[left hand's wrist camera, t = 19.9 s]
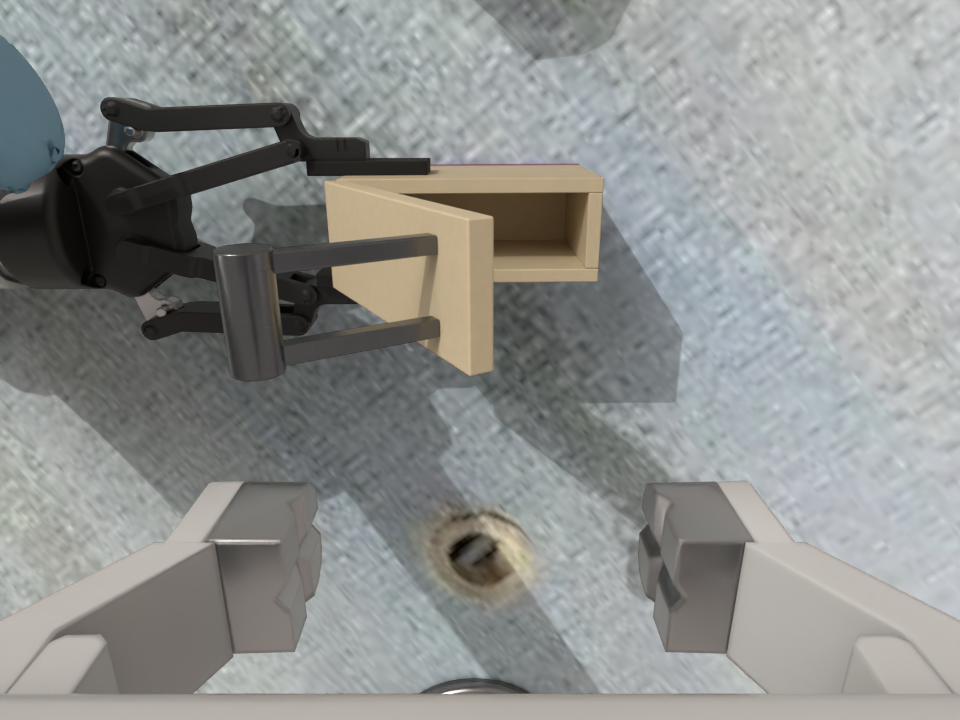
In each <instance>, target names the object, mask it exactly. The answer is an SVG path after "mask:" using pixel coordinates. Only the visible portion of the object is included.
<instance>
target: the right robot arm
mask: <svg viewBox="0 0 960 720" xmlns="http://www.w3.org/2000/svg"><path fill="white" fill-rule="evenodd" d="M100 108H101V112H102V114H103V116H104V117H105V118H106V119H108V120H109V125H108V133H107V141H106V146H102V147H99V148H97V149H96V150H94V151H93V152H91V153H89V154H81V155H63V153H64V147H65V134H64V128H63V124H62V121H61V117H60V115H59V112H58V109H57V107H56V105H55V102H54V100H53V98H52V96H51V95H50V93H49V91H48V89H47V88H46V86H45V85H44V83H43V81H42V80H41V78H40V77H39V76H38V74H37V73H36V72H35V70H34V69H33V68H32V66H31V65H30V64H29V63H28V61H27V60H26V59H25V58H24V57H23V56H22V54H21V53H20V52H19V51H18V50H17V49H16V48H15V47H14V46H13V45H12V44H10V43H9V42H8V41H7V40H6V39H5V38H4V37H2V36H1V35H0V289H23V288H28V287H32V288H36V289H111V290H115V291H117V292H119V293H121V294H123V295H126V296H129V297H134V298H135V300H136V302H137V304H138V306H139V307H140V309H141V311H142V313H143V315H144V317H145V319H146V322H145V323H143V325H142V328H141V330H142V334H143V335H144V336H145V337H146V338H148V339H150V340H157V339H160V338H163V337H166V336H169V335H173V334H176V333H179V332H182V331H183V332H211V333H224V330H223V324H222V317H221V310H220V304H219V302H211V301H196V302H189V303H185V304H183V303H182V300H181V299H180V298H177V297H175V296H164V295H162V294H160V293H159V292H158V291H157V289H156V288H157V287H158V286H159V285H160V284H162V283H163V282H164V281H165V280H166V279H168V278H169V277H170V276H171V275H173V274H177V275H180V276H184V277H189V278H203V279H207V280H210V281H214V282H216V277H215V270H214V263H213V256H212V251H213V250H214V249H216V247H214V246H212V245H208V244H205V243H201V242H198V241H197V234H196V231H195V229H194V227H193V224H192V222H191V214H192V201H191V195H192V194H195V193H198V192H201V191H205V190H208V189H211V188H214V187H218V186H221V185H224V184H227V183H231V182H234V181H237V180H240V179H244V178H247V177H250V176H253V175H257V174H260V173H263V172H266V171H270V170H273V169H276V168H279V167H283V166H286V165H289V164H292V163H296V162H299V161H306V165H307V176H384V175H428V174H429V172H430V171H431V170H430V158H370V150H369V141H367V140H365V139H363V138H360V137H314V136H311V135H310V134H309V133H308V132H307V131H306V130H305V128H304V126H303V124H302V121H301V119H300V112H299V110H298V108H297V107H296V106H295V105H293V104H289V103H256V104H232V105H208V106H185V107H160V106H156V105H153V104H150V103H147V102H144V101H141V100H138V99H134V98H118V97H117V98H116V97H108V98H105V99H104V100H103V101H102V102H101V105H100ZM265 127H274V129H275V131H276V133H277V136H278V138H279V140H280V142H278V143H275V144H272V145H269V146H265V147H262V148H259V149H256V150H252V151H249V152H246V153H243V154H240V155H236V156H233V157H230V158H227V159H223V160H220V161H217V162H214V163H211V164H207V165H204V166H201V167H198V168H194V169H191V170H188V171H185V172H181V173H178V174H174V175H171V176H170V175H169V174H167V173H166V172H164V171H163V170H161V169H160V168H158V167H157V166H155V165H154V164H152V163H151V162H149V161H148V160H146V159H145V158H143V157H142V156H140V155H139V154H137V153H136V152H134V151H133V150H132V149H133V146H134V144H135V143H137V142H147V141H150V140H151V139H153V137H154V134H155V132H169V131H193V130H217V129H241V128H265ZM276 281H277V290H278V299H281V300H285V301H289V302H293V303H295V305H293V304H279V307H280V316H281V324H282V333H283V335H296V336H300V335H304V334H305V333H307V331H308V330H309V329H310V327H311V326H312V325H313V323H314V322H315V321H316V319H317V316H318V314H317V313H318V310H319V306H320V305H323V304H358V303H357V302H355V301H354V300H352V299H350V298H349V297H347V296H346V295H344V294H343V293H341V292H340V291H338V290H337V289H335V288H334V287H333V279H332V267H328V268H322V269H321V270H320V271H319V272H318V273H317V274H316V276H313V275H309V274H306V273H302V272H298V271H295V272H286V273H278V274H276ZM419 694H529V693H527V692H525V691H524V690H522V689H520V688H518V687H515V686H513V685H510V684H507V683H504V682H500V681H495V680H490V679H476V678H472V679H459V680H453V681H448V682H445V683H441V684H438V685H435V686H433V687H431V688H428V689H426V690H424V691H423V692H421V693H419Z"/></svg>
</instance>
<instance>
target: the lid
mask: <svg viewBox="0 0 960 720" xmlns="http://www.w3.org/2000/svg"><path fill="white" fill-rule="evenodd" d="M324 185H325V197H326V208H327V220H328V232H329V243H323V244H313V245H303V246H293V247H283V248H274V249H273V248H272V247H271V246H269V245H266V244H256V243H247V244H234V245H227V246H222V247H218V248H216V249H214V250H213V251H212V256H213V263H214V270H215V277H216V283H217V290H218V297H219V304H220V310H221V317H222V324H223V330H224V337H225V344H226V351H227V357H228V364H229V371H230V375H231V377H232V378H234V379H236V380H240V381H262V380H267V379H271V378H274V377H277V376H279V375H281V374H283V373H284V372H285V370H286V366H287V365H292V364H297V363H303V362H308V361H314V360H319V359H324V358H330V357H335V356H341V355H346V354H351V353H357V352H362V351H368V350H373V349H378V348H384V347H389V346H395V345H400V344H405V343H411V342H418V343H419V344H421V345H423V346H424V347H426V348H427V349H429V350H430V351H432V352H433V353H435V354H436V355H438V356H439V357H441V358H442V359H444V360H446V361H447V362H449V363H450V364H452V365H453V366H455V367H456V368H458V369H459V370H461V371H462V372H464V373H465V374H467V375H469V376H474V375H478V374H483V373H487V372H492V371H493V286H494V219H493V217H492V216H489V215H485V214H481V213H476V212H472V211H468V210H464V209H460V208H456V207H452V206H447V205H443V204H439V203H435V202H431V201H427V200H422V199H418V198H414V197H410V196H406V195H402V194H398V193H393V192H389V191H385V190H381V189H377V188H373V187H369V186H364V185H360V184H356V183H352V182H348V181H344V180H335V181H325V182H324ZM328 267H332V279H333V287H334V288H335V289H337V290H338V291H340V292H341V293H343V294H344V295H346V296H347V297H349V298H350V299H352V300H354V301H355V302H357V303H358V304H360V305H361V306H363V307H364V308H366V309H367V310H369V311H370V312H372V313H373V314H375V315H377V316H378V317H380V318H381V319H383V320H384V321H386V322H387V323H384V324H378V325H372V326H366V327H360V328H354V329H348V330H342V331H336V332H330V333H324V334H318V335H312V336H306V337H300V338H294V339H288V340H283V333H282V324H281V316H280V307H279V299H278V290H277V281H276V274H278V273H286V272H295V271H303V270H311V269H320V268H328Z"/></svg>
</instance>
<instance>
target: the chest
mask: <svg viewBox="0 0 960 720" xmlns="http://www.w3.org/2000/svg"><path fill="white" fill-rule="evenodd" d="M430 170H431V171H430V172H429V174H428V175H384V176H342V177H340V178H338V179H336V180H344V181H348V182H352V183H356V184H360V185H364V186H369V187H373V188H377V189H381V190H385V191H389V192H393V193H398V194H402V195H406V196H410V197H414V198H418V199H422V200H427V201H431V202H435V203H439V204H443V205H447V206H452V207H456V208H460V209H464V210H468V211H472V212H476V213H481V214H485V215H489V216H492V217H493V219H494V283H504V282H597V281H598V267H599V253H600V236H601V219H602V202H603V193H602V192H603V187H604V178H603V177H601V176H599V175H597V174H595V173H593V172H591V171H589V170H587V169H585V168H583V167H582V166H580V165H579V164H465V165H430Z"/></svg>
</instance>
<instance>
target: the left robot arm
mask: <svg viewBox="0 0 960 720" xmlns="http://www.w3.org/2000/svg"><path fill="white" fill-rule="evenodd" d="M317 509H318V505H317V497H316V489H315V487H314V486H313V484H312V483H303V482H251V481H249V482H245V481H216V482H211V483H209V484H208V485H207V486H206V488H205V489H204V491H203V492H202V493H201V495H200V496H199V497H198V499H197V500H196V501H195V503H194V504H193V505H192V507H191V508H190V509H189V511H188V512H187V513H186V515H185V516H184V517H183V519H182V520H181V521H180V523H179V524H178V525H177V527H176V528H175V529H174V531H173V532H172V534H171V535H170V536H169V538H168V539H167V540H166V542H154V543H152V544H150V545H148V546H146V547H144V548H142V549H140V550H138V551H136V552H134V553H132V554H130V555H128V556H127V557H125V558H123V559H121V560H119V561H117V562H115V563H113V564H111V565H109V566H107V567H105V568H103V569H101V570H99V571H97V572H95V573H93V574H91V575H89V576H87V577H85V578H83V579H81V580H79V581H77V582H75V583H73V584H71V585H69V586H67V587H65V588H63V589H61V590H59V591H57V592H55V593H53V594H51V595H49V596H47V597H45V598H43V599H42V600H40V601H38V602H36V603H34V604H32V605H30V606H28V607H26V608H24V609H22V610H20V611H18V612H16V613H14V614H12V615H10V616H8V617H6V618H4V619H2V620H0V720H960V621H959V620H957V619H956V618H954V617H952V616H950V615H948V614H946V613H944V612H942V611H940V610H938V609H936V608H934V607H932V606H930V605H928V604H926V603H924V602H922V601H920V600H918V599H916V598H914V597H912V596H910V595H908V594H906V593H904V592H902V591H900V590H898V589H896V588H894V587H892V586H891V585H889V584H887V583H885V582H883V581H881V580H879V579H877V578H875V577H873V576H871V575H869V574H867V573H865V572H863V571H861V570H859V569H857V568H855V567H853V566H851V565H849V564H847V563H845V562H843V561H841V560H839V559H837V558H835V557H833V556H831V555H829V554H827V553H825V552H824V551H822V550H820V549H818V548H816V547H814V546H812V545H810V544H808V543H806V542H794V540H793V539H792V538H791V536H790V535H789V534H788V532H787V531H786V530H785V528H784V527H783V526H782V524H781V523H780V522H779V520H778V519H777V518H776V516H775V515H774V514H773V512H772V511H771V510H770V508H769V507H768V506H767V504H766V503H765V502H764V500H763V499H762V498H761V496H760V495H759V494H758V492H757V491H756V490H755V488H754V487H753V486H752V484H751V483H749V482H747V481H724V482H683V483H650V484H646V487H645V491H644V495H643V504H642V509H643V512H644V514H645V517H646V519H647V522H648V524H647V526H646V527H645V528H644V529H643V530H642V531H641V532H640V534H639V548H638V558H639V572H640V577H641V582H642V586H643V589H644V592H645V595H646V596H647V597H648V598H649V599H651V600H652V601H653V602H655V605H654V614H653V618H654V621H655V624H656V627H657V630H658V632H659V635H660V638H661V641H662V644H663V646H664V649H665V652H687V653H723V654H727V657H728V658H729V659H730V660H731V661H732V662H733V663H734V664H735V665H737V666H738V667H739V668H740V669H741V670H742V671H743V672H744V673H745V674H746V675H748V676H749V677H750V678H751V679H752V680H753V681H754V682H755V683H756V684H757V685H759V686H760V687H761V688H762V689H763V690H764V691H765V692H766V693H767V694H193V693H194V692H195V691H196V690H197V689H198V688H199V687H201V686H202V685H203V684H204V683H205V682H206V681H207V680H208V679H209V678H211V677H212V676H213V675H214V674H215V673H216V672H217V671H218V670H219V669H220V668H222V667H223V666H224V665H225V664H226V663H227V662H228V661H229V660H230V659H232V658H233V654H237V653H272V652H295V649H296V647H297V644H298V641H299V638H300V635H301V632H302V630H303V627H304V624H305V621H306V618H307V615H306V605H305V602H307V601H308V600H309V599H311V598H312V597H313V596H314V595H315V592H316V589H317V586H318V582H319V576H320V570H321V563H322V545H321V534H320V532H319V531H318V530H317V529H316V528H315V527H314V526H313V524H312V522H313V519H314V517H315V514H316V512H317Z"/></svg>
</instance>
